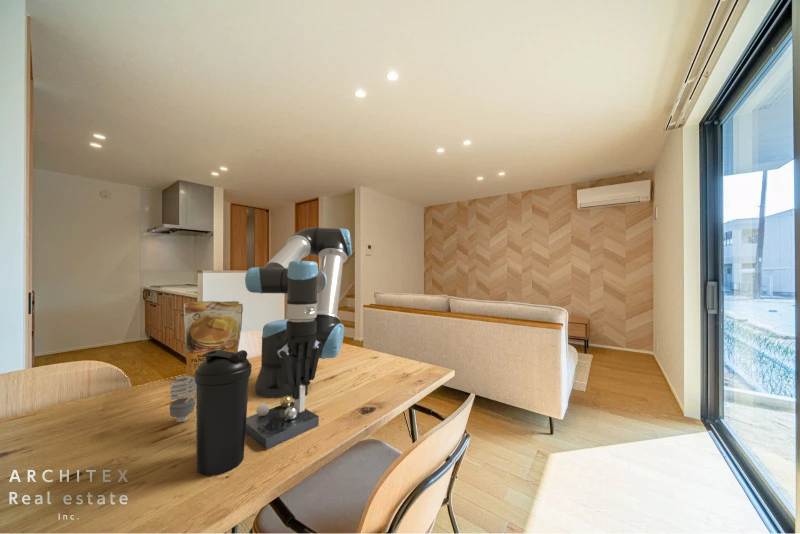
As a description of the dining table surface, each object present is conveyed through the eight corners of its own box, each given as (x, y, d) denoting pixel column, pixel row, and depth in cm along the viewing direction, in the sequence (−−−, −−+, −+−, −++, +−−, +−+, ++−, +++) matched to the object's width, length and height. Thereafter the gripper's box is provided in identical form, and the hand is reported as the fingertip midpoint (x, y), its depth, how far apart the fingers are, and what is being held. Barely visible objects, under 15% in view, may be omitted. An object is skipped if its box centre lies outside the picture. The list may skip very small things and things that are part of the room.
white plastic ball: (254, 415, 76) (254, 404, 76) (265, 411, 78) (265, 400, 78) (259, 419, 74) (260, 407, 74) (271, 415, 76) (271, 403, 76)
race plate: (240, 429, 74) (241, 419, 74) (291, 409, 84) (291, 401, 85) (265, 450, 65) (266, 438, 65) (318, 425, 76) (318, 415, 76)
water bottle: (209, 448, 66) (212, 345, 66) (256, 446, 67) (259, 346, 67) (178, 480, 56) (183, 359, 56) (234, 478, 56) (238, 359, 57)
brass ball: (277, 407, 81) (278, 396, 81) (287, 403, 83) (288, 392, 83) (283, 410, 79) (283, 399, 79) (293, 406, 81) (294, 395, 81)
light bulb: (200, 419, 78) (201, 374, 78) (178, 429, 73) (180, 381, 73) (185, 415, 80) (187, 371, 80) (162, 425, 75) (164, 378, 75)
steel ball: (293, 413, 77) (282, 419, 74) (292, 401, 76) (281, 408, 74) (300, 417, 75) (289, 424, 72) (299, 405, 74) (288, 412, 72)
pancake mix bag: (182, 376, 108) (185, 301, 109) (240, 370, 116) (243, 300, 117) (177, 383, 102) (180, 303, 102) (239, 375, 110) (242, 301, 111)
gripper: (286, 324, 69) (284, 424, 69) (330, 318, 79) (328, 405, 79) (270, 320, 74) (267, 414, 73) (314, 315, 84) (311, 397, 84)
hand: (299, 409), depth 76 cm, fingers closed
